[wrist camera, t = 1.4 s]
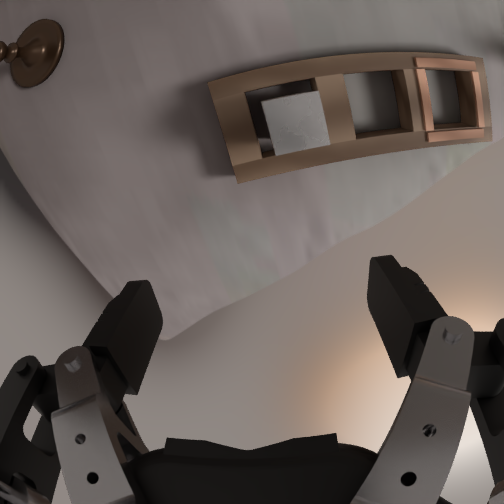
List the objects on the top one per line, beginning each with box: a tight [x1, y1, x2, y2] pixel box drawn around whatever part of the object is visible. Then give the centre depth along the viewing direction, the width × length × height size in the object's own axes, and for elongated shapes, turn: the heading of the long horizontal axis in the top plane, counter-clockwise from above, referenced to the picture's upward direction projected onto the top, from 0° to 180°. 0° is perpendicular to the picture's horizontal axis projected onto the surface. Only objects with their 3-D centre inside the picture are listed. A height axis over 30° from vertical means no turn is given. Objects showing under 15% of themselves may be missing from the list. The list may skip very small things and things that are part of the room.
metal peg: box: [260, 91, 330, 156], centre depth 22 cm, size 4×4×9 cm
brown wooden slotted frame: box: [207, 52, 492, 184], centre depth 24 cm, size 10×30×3 cm, turn 105°
